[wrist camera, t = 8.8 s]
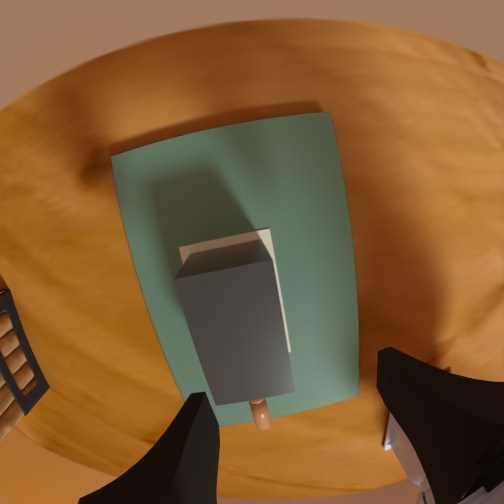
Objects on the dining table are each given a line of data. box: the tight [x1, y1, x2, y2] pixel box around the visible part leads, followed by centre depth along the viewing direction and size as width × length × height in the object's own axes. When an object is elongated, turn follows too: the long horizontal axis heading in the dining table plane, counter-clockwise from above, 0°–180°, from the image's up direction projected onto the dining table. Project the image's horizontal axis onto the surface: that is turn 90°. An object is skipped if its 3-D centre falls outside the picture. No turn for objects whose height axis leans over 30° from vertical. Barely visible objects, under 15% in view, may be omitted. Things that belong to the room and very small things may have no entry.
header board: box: [111, 112, 359, 426], centre depth 17 cm, size 22×14×4 cm, turn 11°
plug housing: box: [174, 239, 295, 430], centre depth 16 cm, size 11×4×5 cm, turn 11°
